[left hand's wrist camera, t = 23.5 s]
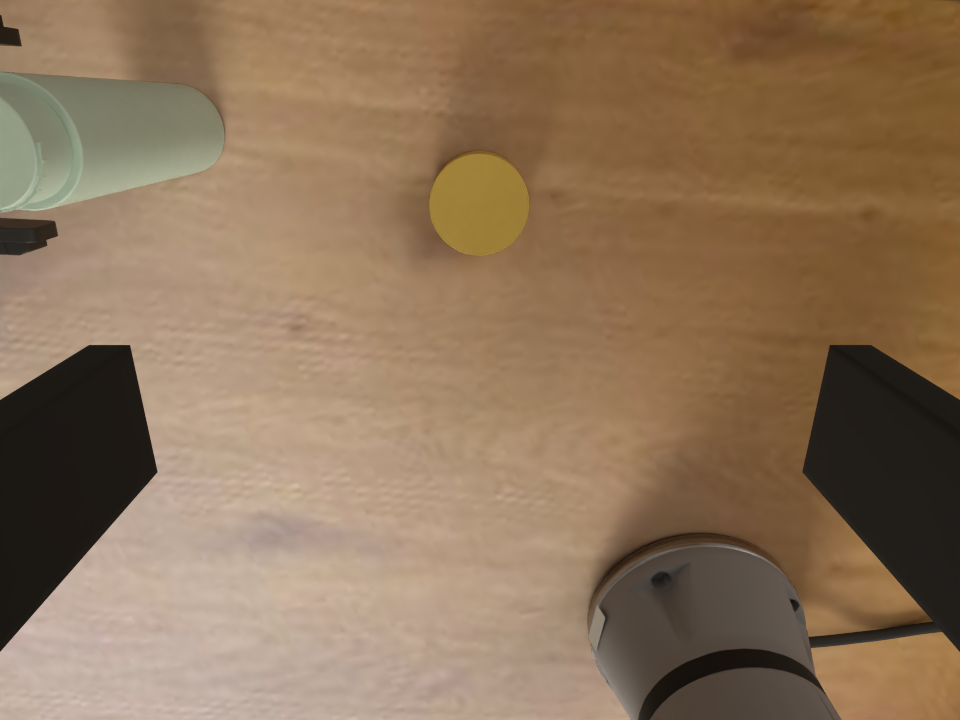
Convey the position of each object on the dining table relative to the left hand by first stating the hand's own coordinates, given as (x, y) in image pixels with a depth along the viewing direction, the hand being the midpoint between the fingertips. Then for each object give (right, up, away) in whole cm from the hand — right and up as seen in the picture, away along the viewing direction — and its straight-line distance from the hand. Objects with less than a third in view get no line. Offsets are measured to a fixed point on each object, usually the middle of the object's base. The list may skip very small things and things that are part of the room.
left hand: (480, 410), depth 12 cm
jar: (-16, +14, +23) cm, 31 cm away
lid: (0, +9, +23) cm, 25 cm away
